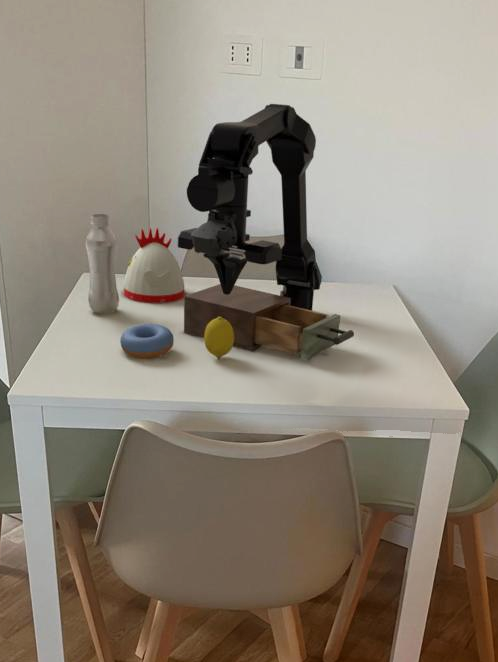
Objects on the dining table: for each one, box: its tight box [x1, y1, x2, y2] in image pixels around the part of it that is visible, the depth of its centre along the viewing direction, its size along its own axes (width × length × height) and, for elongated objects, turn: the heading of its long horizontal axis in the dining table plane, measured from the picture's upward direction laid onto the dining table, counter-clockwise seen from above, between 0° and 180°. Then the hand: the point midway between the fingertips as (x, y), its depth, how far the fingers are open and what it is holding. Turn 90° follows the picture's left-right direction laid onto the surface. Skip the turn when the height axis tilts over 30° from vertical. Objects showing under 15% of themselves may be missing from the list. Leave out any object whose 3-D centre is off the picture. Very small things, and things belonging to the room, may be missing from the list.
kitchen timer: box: [123, 227, 186, 304], centre depth 183 cm, size 14×14×15 cm
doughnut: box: [119, 323, 175, 359], centre depth 151 cm, size 10×10×5 cm
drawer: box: [254, 304, 355, 361], centre depth 155 cm, size 20×12×6 cm, turn 56°
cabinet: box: [183, 283, 291, 352], centre depth 162 cm, size 17×14×8 cm
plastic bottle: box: [85, 213, 120, 314], centre depth 168 cm, size 6×7×20 cm
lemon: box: [203, 317, 234, 359], centre depth 149 cm, size 6×6×8 cm
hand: (226, 294), depth 145 cm, fingers closed
